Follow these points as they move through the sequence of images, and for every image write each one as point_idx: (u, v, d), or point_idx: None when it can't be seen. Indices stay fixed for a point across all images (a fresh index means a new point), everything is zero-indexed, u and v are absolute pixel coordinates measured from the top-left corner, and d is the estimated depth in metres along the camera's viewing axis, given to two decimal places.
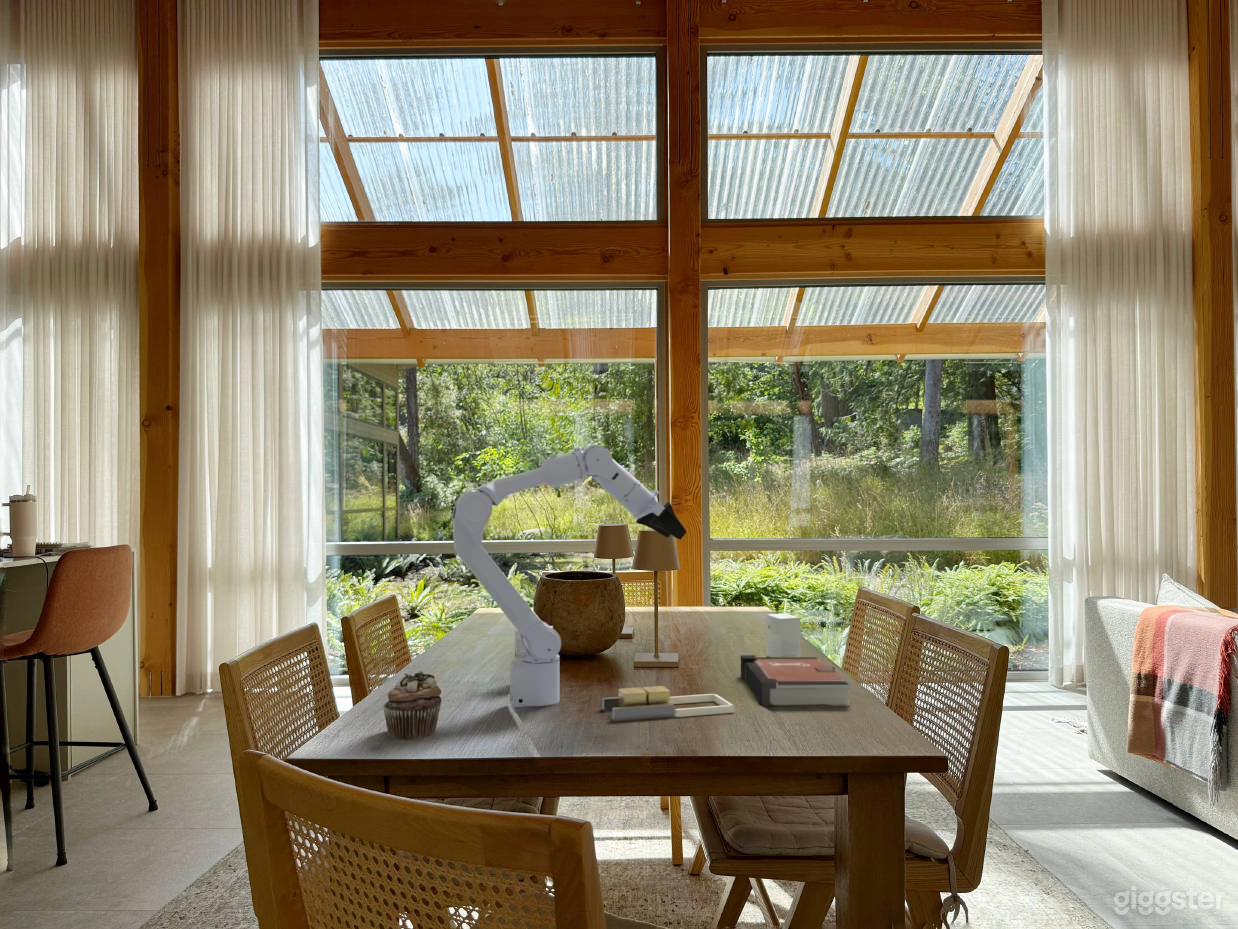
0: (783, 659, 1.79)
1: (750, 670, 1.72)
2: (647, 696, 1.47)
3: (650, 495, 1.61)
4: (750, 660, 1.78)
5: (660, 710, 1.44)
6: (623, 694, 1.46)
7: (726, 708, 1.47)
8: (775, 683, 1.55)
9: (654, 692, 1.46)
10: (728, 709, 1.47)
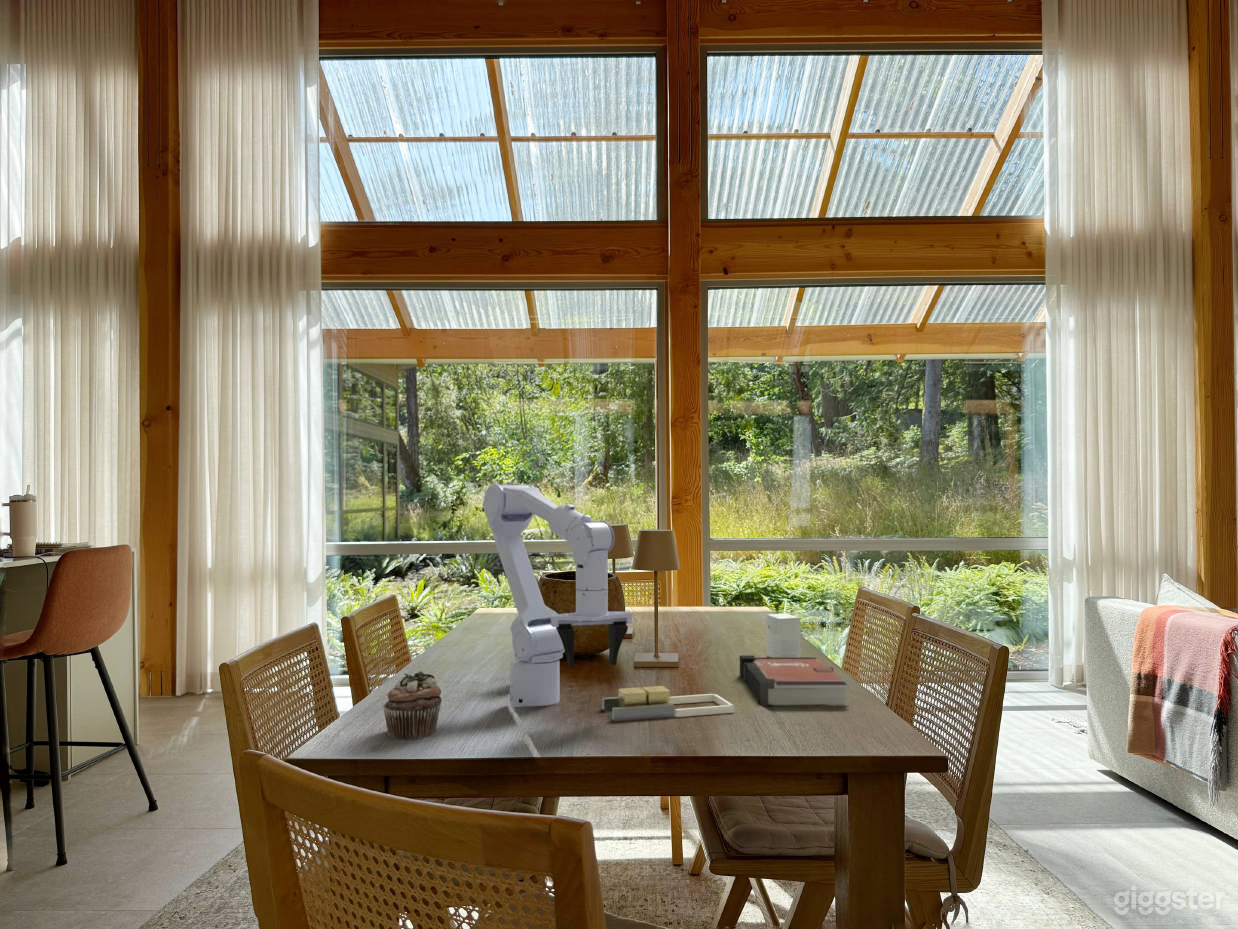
0: (782, 659, 1.79)
1: (749, 670, 1.72)
2: (647, 696, 1.47)
3: (583, 612, 1.44)
4: (749, 660, 1.78)
5: (660, 710, 1.44)
6: (623, 694, 1.46)
7: (726, 708, 1.47)
8: (773, 683, 1.55)
9: (654, 692, 1.46)
10: (728, 709, 1.47)
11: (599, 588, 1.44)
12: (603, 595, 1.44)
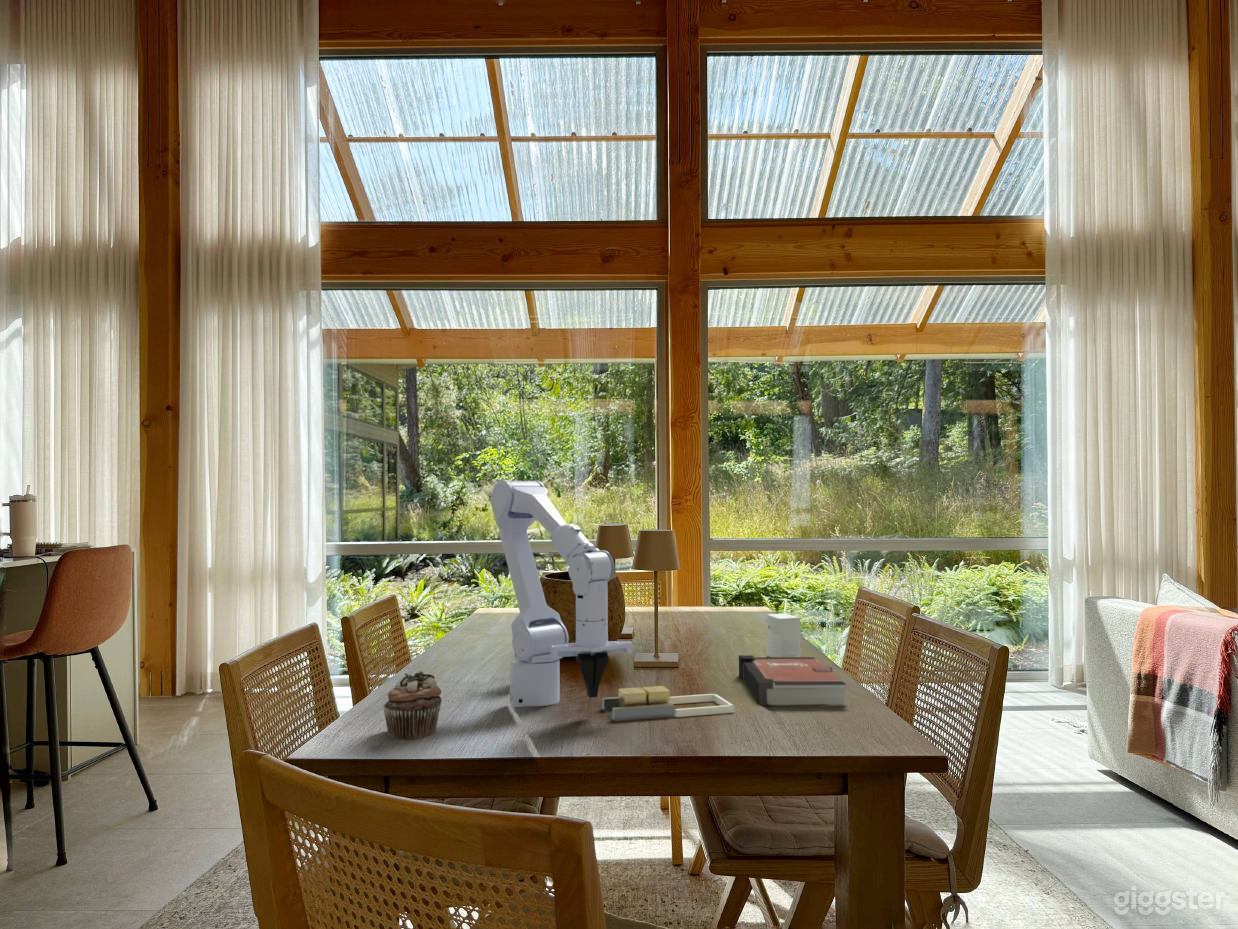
0: (781, 659, 1.79)
1: (748, 670, 1.72)
2: (647, 696, 1.47)
3: (583, 642, 1.43)
4: (748, 660, 1.78)
5: (660, 710, 1.44)
6: (623, 694, 1.46)
7: (726, 708, 1.47)
8: (772, 683, 1.55)
9: (654, 692, 1.46)
10: (728, 709, 1.47)
11: (599, 619, 1.43)
12: (603, 625, 1.44)
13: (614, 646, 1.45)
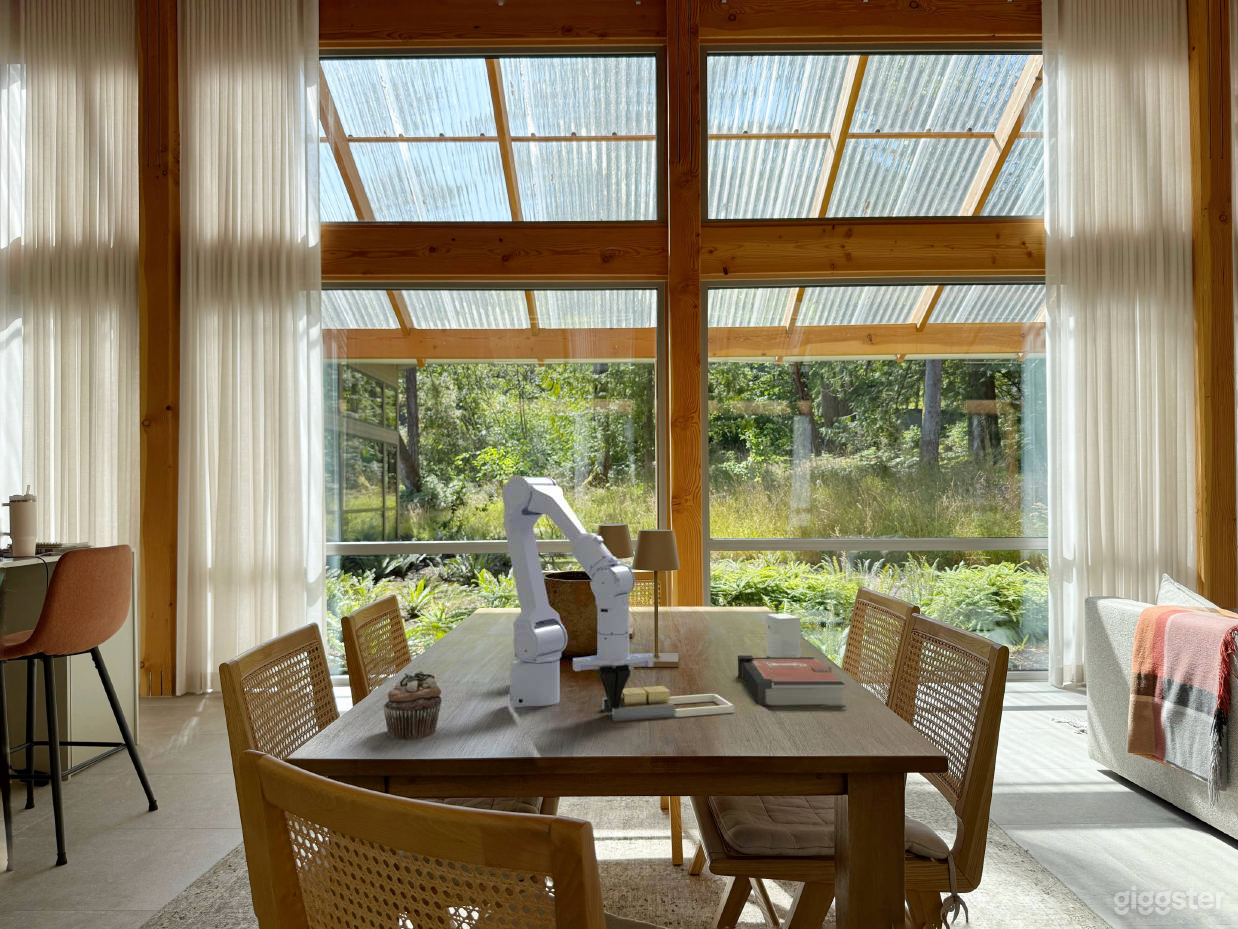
0: (780, 659, 1.79)
1: (747, 670, 1.72)
2: (647, 696, 1.47)
3: (604, 656, 1.44)
4: (747, 660, 1.78)
5: (660, 710, 1.44)
6: (623, 694, 1.46)
7: (726, 708, 1.47)
8: (771, 683, 1.55)
9: (654, 692, 1.46)
10: (728, 709, 1.47)
11: (623, 632, 1.45)
12: (625, 639, 1.45)
13: (635, 659, 1.46)
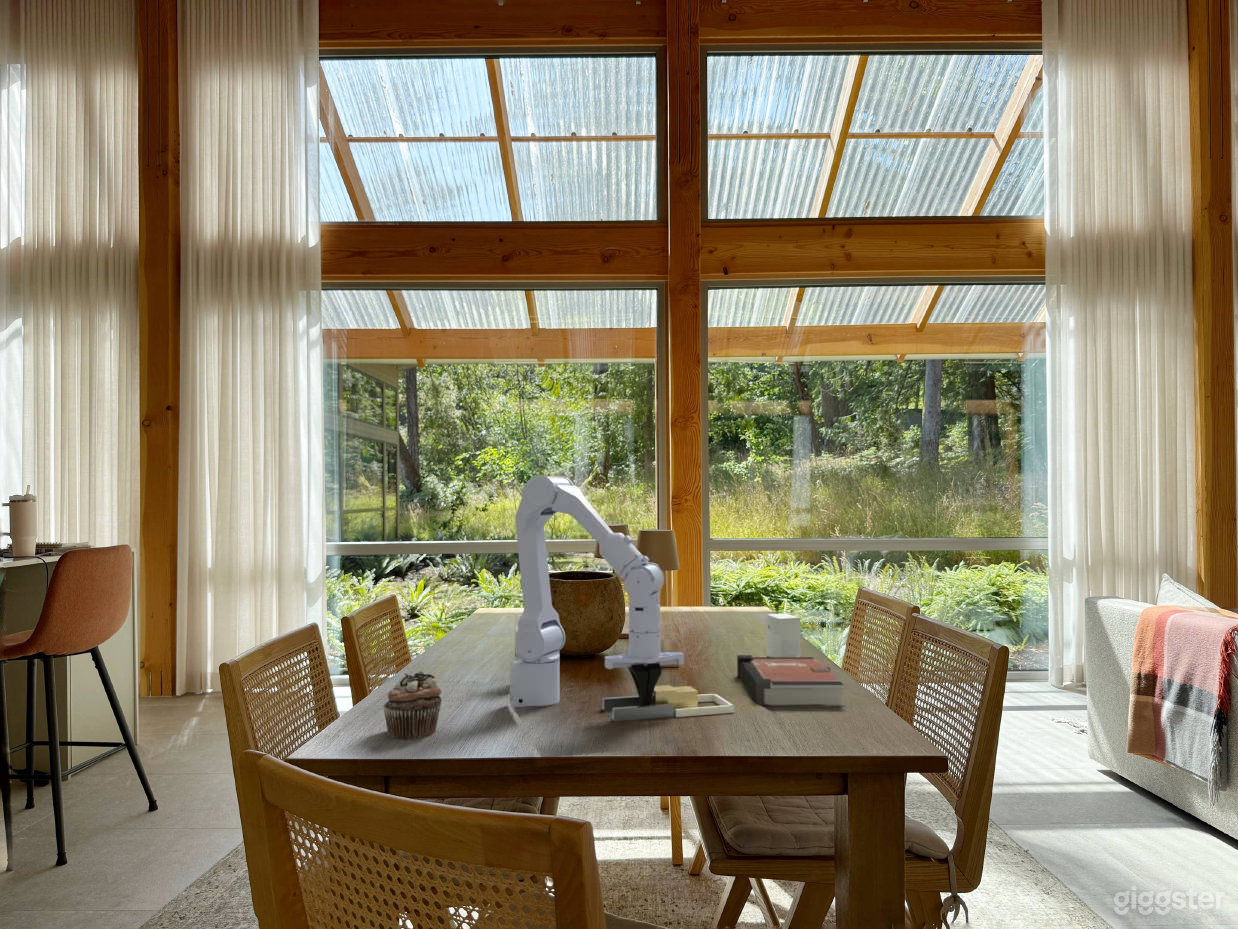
0: (779, 659, 1.79)
1: (746, 670, 1.72)
2: None
3: (637, 654, 1.46)
4: (746, 660, 1.78)
5: (660, 710, 1.44)
6: (654, 691, 1.47)
7: (726, 708, 1.47)
8: (769, 683, 1.55)
9: (682, 692, 1.48)
10: (728, 709, 1.47)
11: (657, 630, 1.47)
12: (656, 637, 1.46)
13: (667, 657, 1.47)
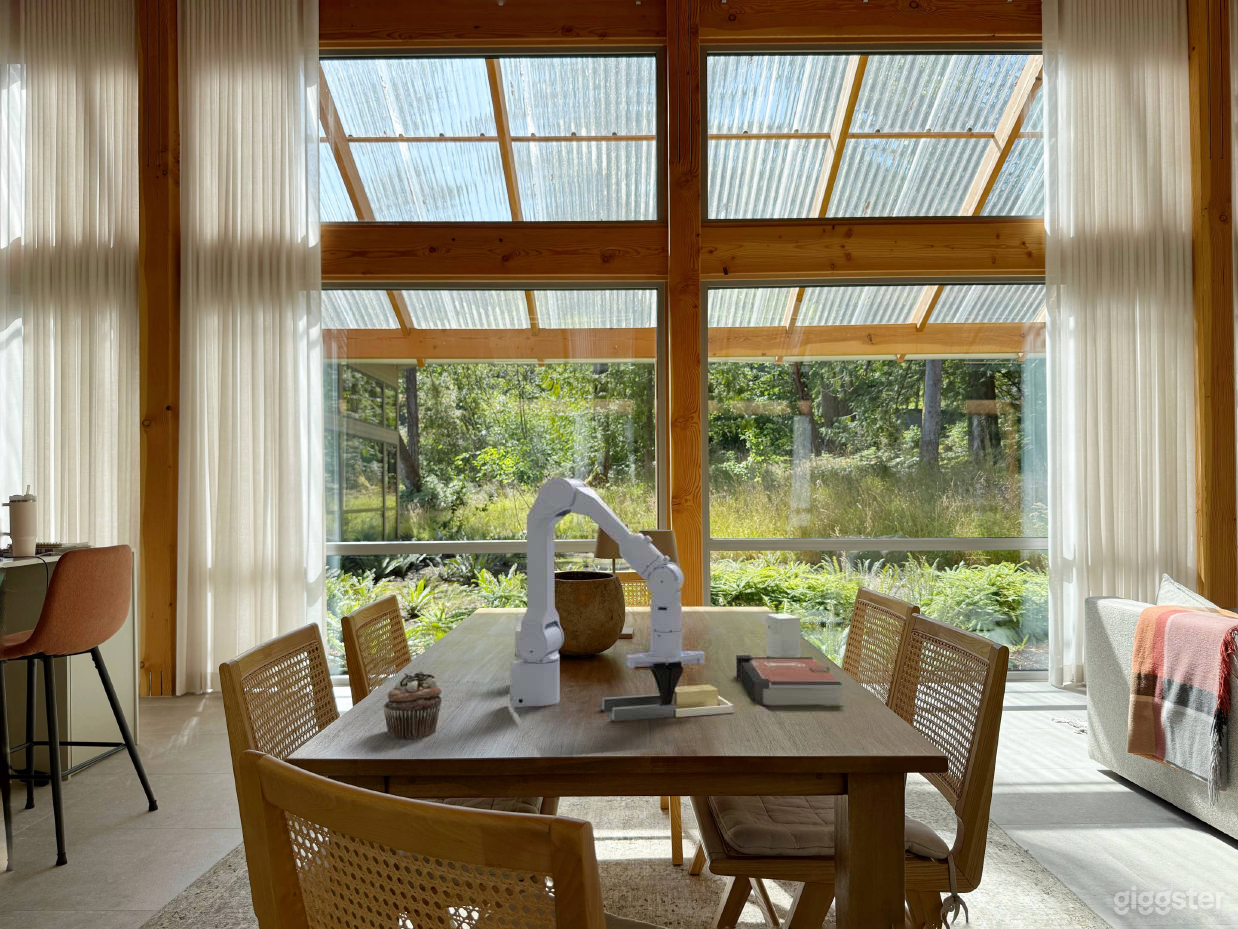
0: (779, 659, 1.79)
1: (745, 670, 1.72)
2: None
3: (658, 653, 1.47)
4: (745, 660, 1.78)
5: (660, 710, 1.44)
6: (675, 692, 1.48)
7: (726, 708, 1.47)
8: (768, 683, 1.55)
9: (703, 691, 1.49)
10: (728, 709, 1.47)
11: (680, 629, 1.48)
12: (678, 636, 1.48)
13: (688, 656, 1.48)
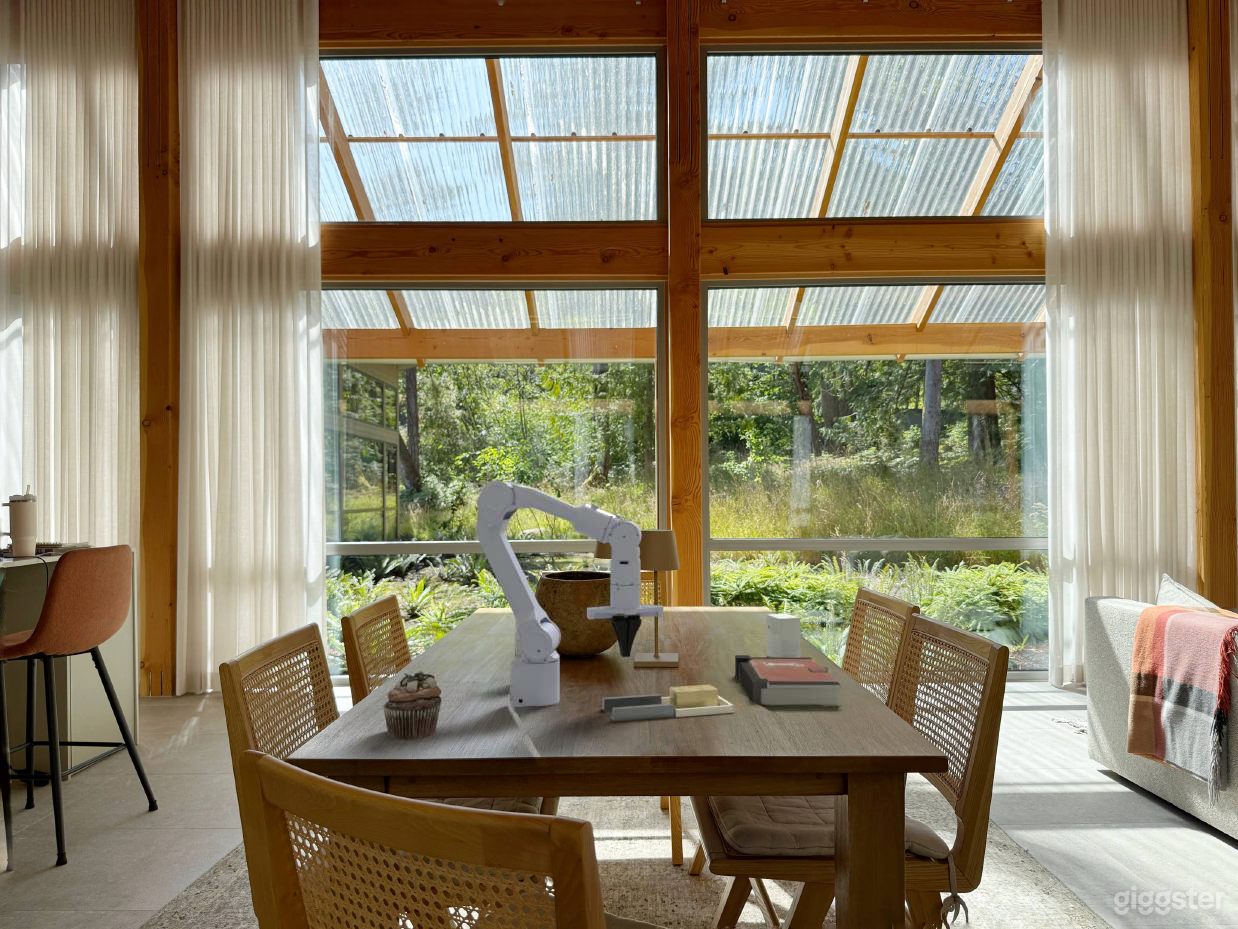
0: (777, 659, 1.79)
1: (743, 670, 1.72)
2: None
3: (617, 605, 1.52)
4: (744, 660, 1.78)
5: (660, 710, 1.44)
6: (675, 692, 1.48)
7: (726, 708, 1.47)
8: (766, 683, 1.56)
9: (703, 691, 1.49)
10: (728, 709, 1.47)
11: (639, 582, 1.54)
12: (636, 590, 1.53)
13: (646, 609, 1.54)
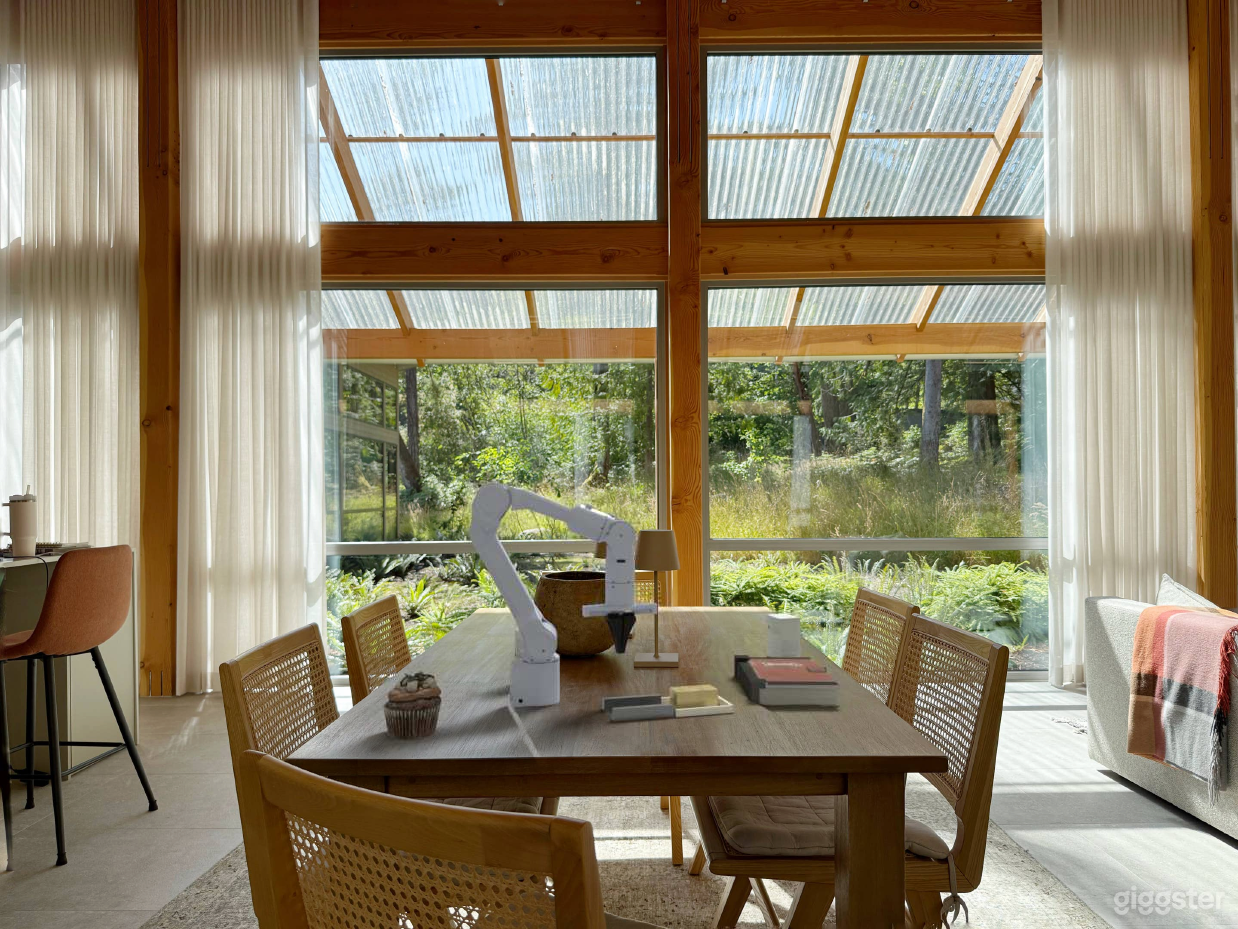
0: (776, 659, 1.79)
1: (742, 670, 1.72)
2: None
3: (612, 603, 1.55)
4: (743, 660, 1.78)
5: (660, 710, 1.44)
6: (675, 692, 1.48)
7: (726, 708, 1.47)
8: (764, 683, 1.56)
9: (703, 691, 1.49)
10: (728, 709, 1.47)
11: (634, 580, 1.57)
12: (631, 587, 1.56)
13: (641, 606, 1.57)
